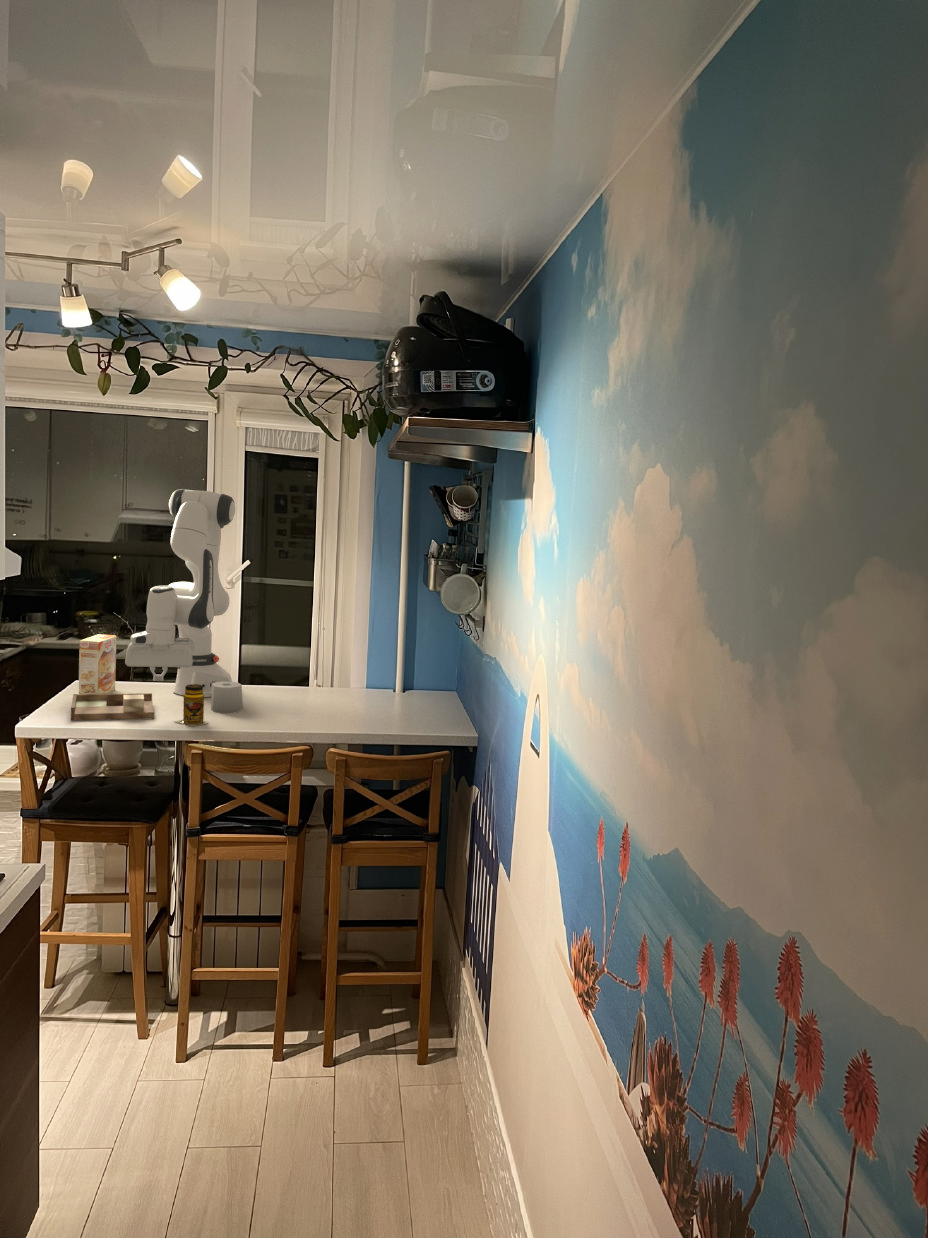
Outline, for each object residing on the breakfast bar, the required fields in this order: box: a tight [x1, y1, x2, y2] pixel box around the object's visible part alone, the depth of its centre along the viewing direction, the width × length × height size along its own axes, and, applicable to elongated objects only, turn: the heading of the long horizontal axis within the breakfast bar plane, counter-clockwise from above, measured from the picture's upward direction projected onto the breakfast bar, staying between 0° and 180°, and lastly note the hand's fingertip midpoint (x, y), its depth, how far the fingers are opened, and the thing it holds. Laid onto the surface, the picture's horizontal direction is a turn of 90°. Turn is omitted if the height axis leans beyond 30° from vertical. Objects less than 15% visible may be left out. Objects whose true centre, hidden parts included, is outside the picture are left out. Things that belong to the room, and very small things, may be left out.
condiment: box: [174, 684, 210, 728], centre depth 284 cm, size 7×8×12 cm
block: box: [123, 695, 144, 712], centre depth 288 cm, size 6×6×4 cm
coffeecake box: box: [78, 633, 117, 694], centre depth 312 cm, size 15×7×20 cm, turn 179°
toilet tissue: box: [210, 681, 244, 714], centre depth 305 cm, size 9×13×9 cm
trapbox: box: [70, 692, 155, 721], centre depth 290 cm, size 24×18×4 cm
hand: (158, 680), depth 289 cm, fingers closed
